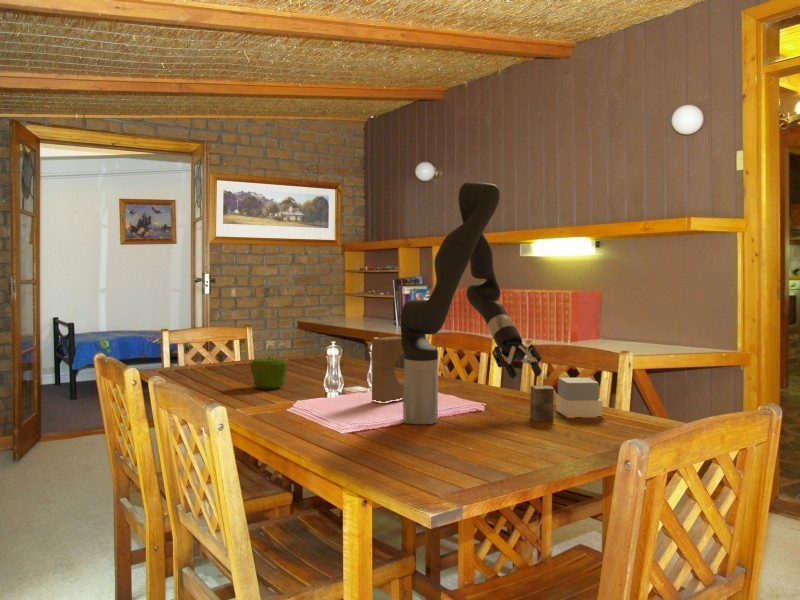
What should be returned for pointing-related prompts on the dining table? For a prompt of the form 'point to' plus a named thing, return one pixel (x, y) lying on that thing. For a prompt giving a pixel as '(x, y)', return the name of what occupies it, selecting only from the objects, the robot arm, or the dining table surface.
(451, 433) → the dining table surface
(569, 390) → the tower top
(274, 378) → the apple
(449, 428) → the dining table surface
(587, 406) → the tower base
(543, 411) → the oak pillar
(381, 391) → the decorative block
